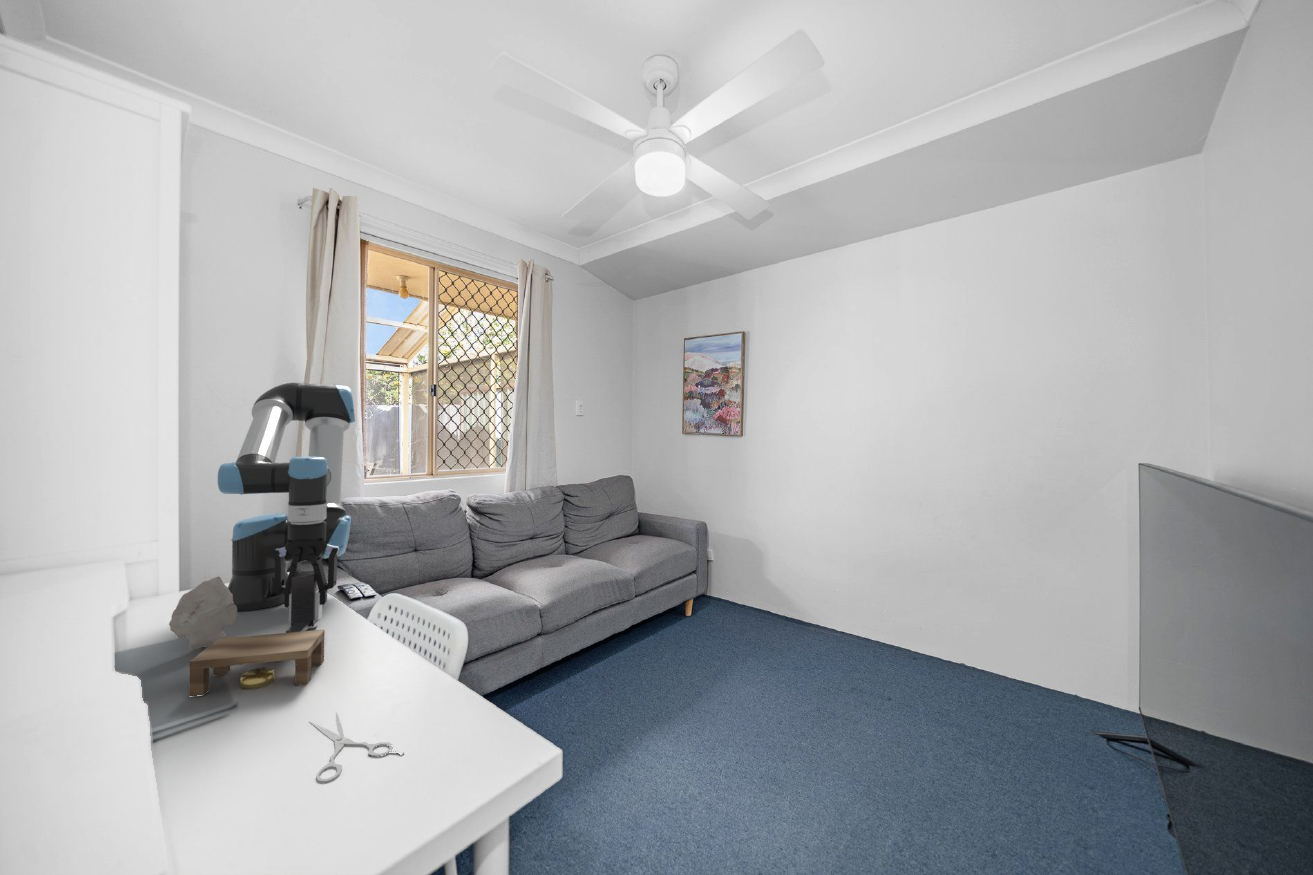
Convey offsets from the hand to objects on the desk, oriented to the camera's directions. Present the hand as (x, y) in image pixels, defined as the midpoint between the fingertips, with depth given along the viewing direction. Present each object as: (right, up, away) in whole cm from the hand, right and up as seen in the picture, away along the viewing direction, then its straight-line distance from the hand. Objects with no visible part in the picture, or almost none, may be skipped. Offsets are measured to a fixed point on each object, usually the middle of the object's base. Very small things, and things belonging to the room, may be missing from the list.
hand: (305, 618), depth 119 cm
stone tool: (-14, -2, -11) cm, 18 cm away
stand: (+7, -3, -23) cm, 24 cm away
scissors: (+35, -5, -41) cm, 54 cm away
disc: (+8, -3, -24) cm, 26 cm away
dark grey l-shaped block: (+2, -1, -7) cm, 8 cm away
